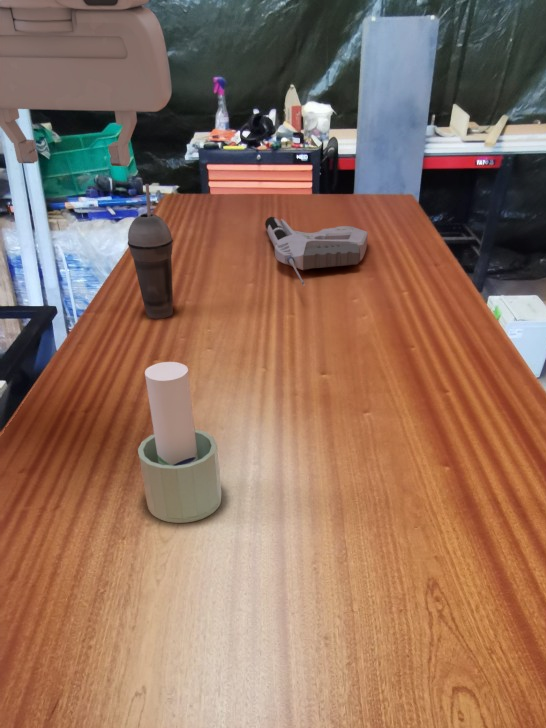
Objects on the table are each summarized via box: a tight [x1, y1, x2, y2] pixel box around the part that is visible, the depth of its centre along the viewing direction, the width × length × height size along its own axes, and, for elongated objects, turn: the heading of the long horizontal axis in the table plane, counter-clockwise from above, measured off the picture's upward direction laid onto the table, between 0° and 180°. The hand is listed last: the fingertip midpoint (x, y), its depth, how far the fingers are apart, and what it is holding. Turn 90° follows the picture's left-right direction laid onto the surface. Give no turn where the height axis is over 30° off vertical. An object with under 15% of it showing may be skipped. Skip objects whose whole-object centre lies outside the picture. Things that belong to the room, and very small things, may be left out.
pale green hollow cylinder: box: [137, 428, 222, 524], centre depth 82 cm, size 8×8×7 cm
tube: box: [144, 361, 198, 466], centre depth 79 cm, size 4×4×15 cm
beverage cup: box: [127, 183, 174, 320], centre depth 120 cm, size 7×7×20 cm
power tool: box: [264, 216, 369, 287], centre depth 142 cm, size 45×5×20 cm
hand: (74, 163), depth 72 cm, fingers open, 8 cm apart
